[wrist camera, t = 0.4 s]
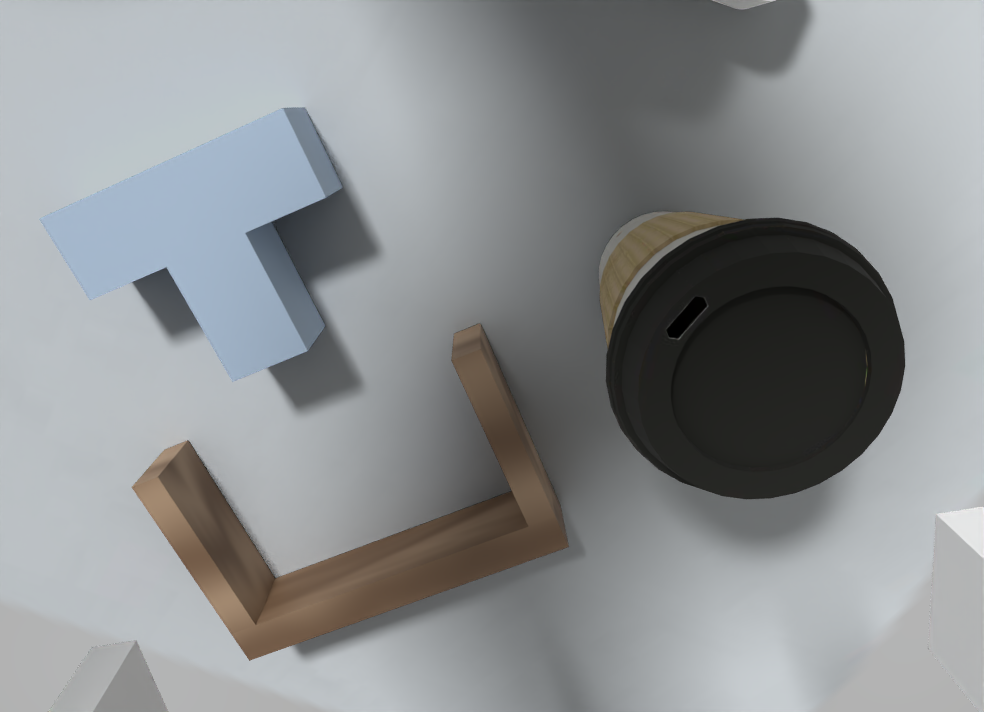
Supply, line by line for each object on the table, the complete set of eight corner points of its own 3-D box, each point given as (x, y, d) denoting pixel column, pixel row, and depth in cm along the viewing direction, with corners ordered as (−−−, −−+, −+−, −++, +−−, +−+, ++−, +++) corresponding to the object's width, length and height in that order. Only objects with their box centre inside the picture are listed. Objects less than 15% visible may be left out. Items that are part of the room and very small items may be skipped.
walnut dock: (164, 449, 40) (131, 487, 36) (480, 323, 38) (480, 348, 34) (268, 611, 44) (249, 660, 40) (560, 505, 41) (568, 546, 38)
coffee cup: (665, 395, 39) (771, 565, 25) (524, 290, 37) (552, 412, 23) (794, 253, 37) (992, 354, 22) (650, 131, 34) (770, 159, 20)
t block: (86, 206, 35) (39, 218, 31) (304, 107, 34) (282, 107, 30) (191, 381, 38) (159, 411, 35) (394, 297, 37) (384, 319, 33)
